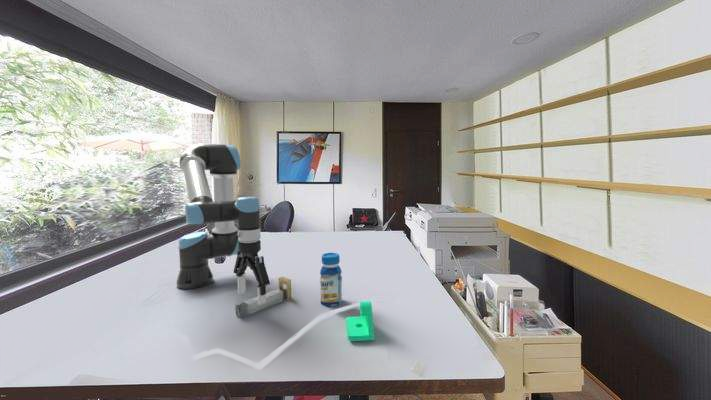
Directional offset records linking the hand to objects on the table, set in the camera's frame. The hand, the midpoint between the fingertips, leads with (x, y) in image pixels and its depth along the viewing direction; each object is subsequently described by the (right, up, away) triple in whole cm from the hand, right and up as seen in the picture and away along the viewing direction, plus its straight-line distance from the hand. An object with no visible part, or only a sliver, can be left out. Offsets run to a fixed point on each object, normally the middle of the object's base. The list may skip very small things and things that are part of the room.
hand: (251, 297), depth 107 cm
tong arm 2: (+3, -5, +2) cm, 6 cm away
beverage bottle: (+28, -6, +7) cm, 30 cm away
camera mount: (+39, -7, -12) cm, 42 cm away
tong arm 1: (+2, -5, +3) cm, 6 cm away
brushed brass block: (+10, -4, +11) cm, 15 cm away
